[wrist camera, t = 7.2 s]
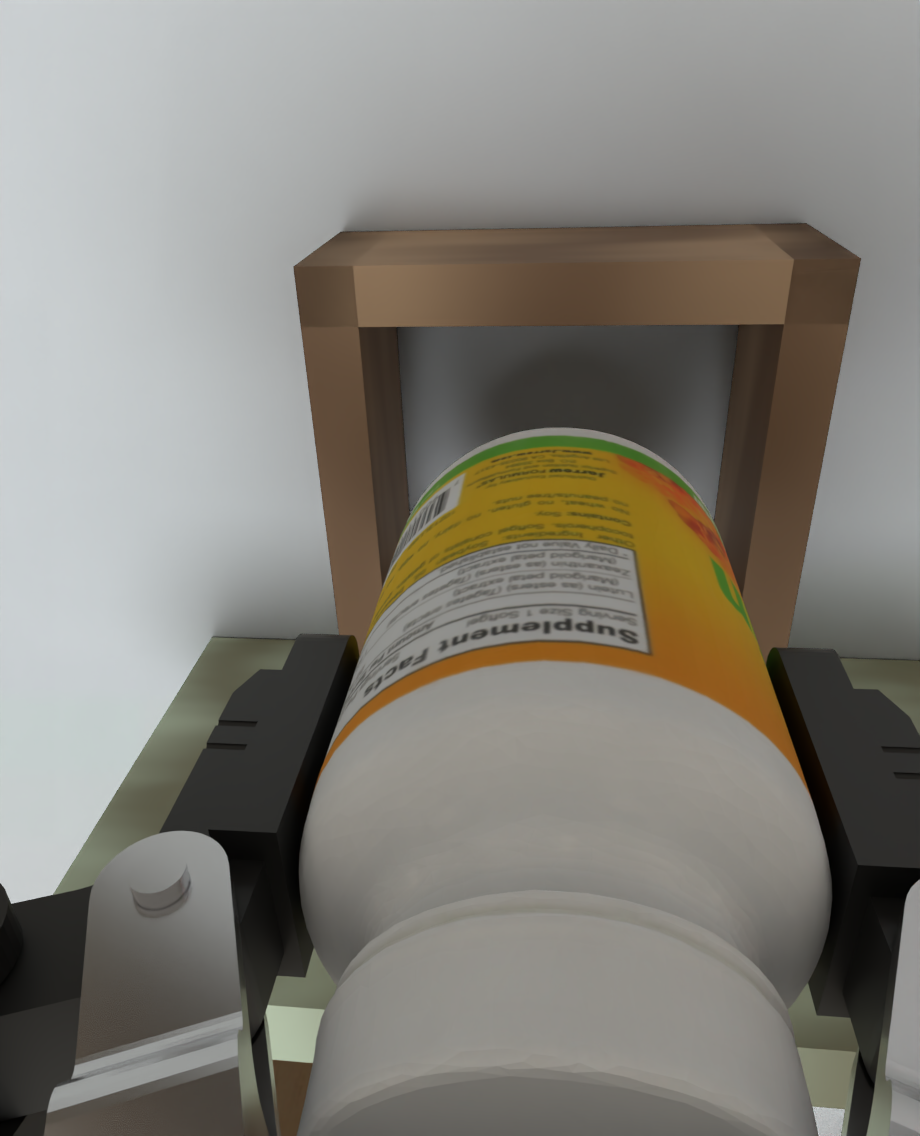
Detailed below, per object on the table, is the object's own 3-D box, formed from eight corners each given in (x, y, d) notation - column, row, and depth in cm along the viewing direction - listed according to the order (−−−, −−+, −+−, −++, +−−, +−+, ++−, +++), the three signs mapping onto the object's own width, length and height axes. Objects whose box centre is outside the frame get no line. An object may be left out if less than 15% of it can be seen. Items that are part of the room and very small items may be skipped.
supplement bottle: (726, 682, 16) (921, 1400, 7) (433, 705, 16) (303, 1365, 8) (714, 394, 13) (998, 989, 5) (369, 442, 14) (79, 1007, 6)
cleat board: (1060, 218, 16) (1648, 397, 7) (916, 710, 22) (1150, 1136, 13) (126, 235, 18) (-284, 393, 9) (221, 682, 24) (23, 1037, 15)
